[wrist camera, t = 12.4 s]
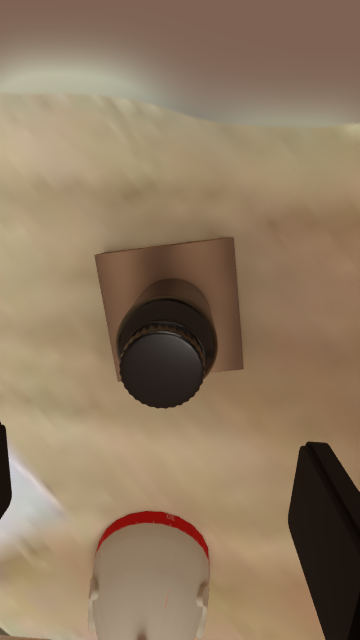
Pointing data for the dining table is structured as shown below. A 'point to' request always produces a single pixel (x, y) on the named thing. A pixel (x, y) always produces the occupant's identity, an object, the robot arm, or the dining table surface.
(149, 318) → the supplement bottle
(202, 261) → the base block
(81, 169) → the dining table surface
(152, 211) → the dining table surface
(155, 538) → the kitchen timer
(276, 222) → the dining table surface
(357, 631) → the robot arm
